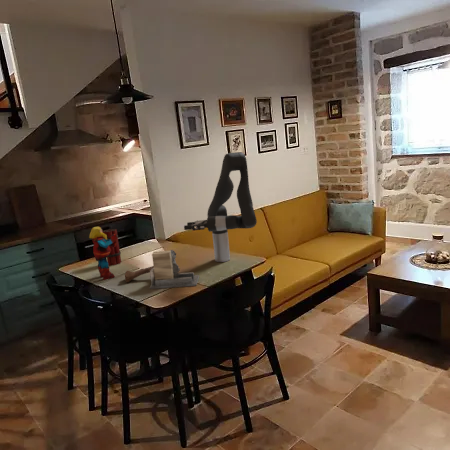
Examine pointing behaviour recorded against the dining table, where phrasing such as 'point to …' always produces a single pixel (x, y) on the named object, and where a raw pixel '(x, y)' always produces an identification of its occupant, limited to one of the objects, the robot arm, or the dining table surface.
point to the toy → (102, 250)
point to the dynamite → (113, 248)
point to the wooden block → (162, 265)
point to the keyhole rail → (174, 280)
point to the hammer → (132, 275)
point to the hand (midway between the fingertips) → (185, 226)
